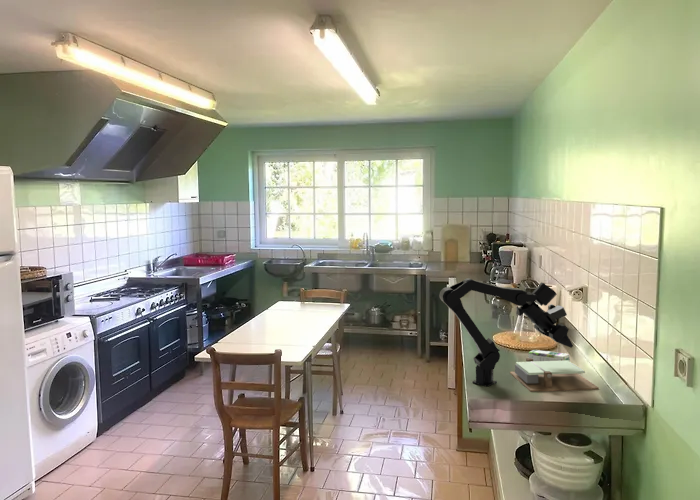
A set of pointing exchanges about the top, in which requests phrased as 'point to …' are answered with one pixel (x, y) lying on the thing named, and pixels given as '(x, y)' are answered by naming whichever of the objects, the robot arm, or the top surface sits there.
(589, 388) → the trapdoor frame
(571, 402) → the top surface
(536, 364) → the trapdoor
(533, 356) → the syrup box
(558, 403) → the top surface
